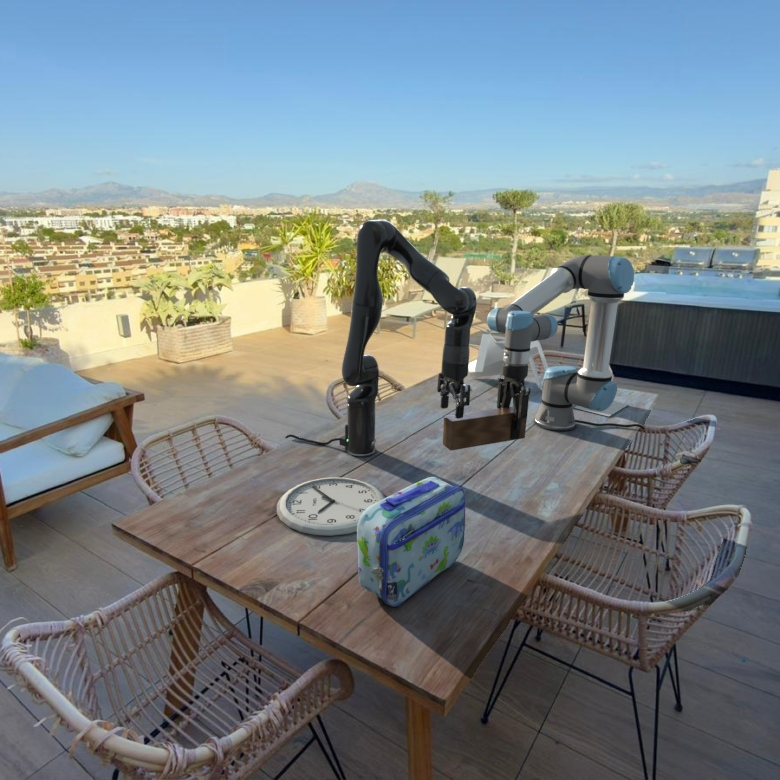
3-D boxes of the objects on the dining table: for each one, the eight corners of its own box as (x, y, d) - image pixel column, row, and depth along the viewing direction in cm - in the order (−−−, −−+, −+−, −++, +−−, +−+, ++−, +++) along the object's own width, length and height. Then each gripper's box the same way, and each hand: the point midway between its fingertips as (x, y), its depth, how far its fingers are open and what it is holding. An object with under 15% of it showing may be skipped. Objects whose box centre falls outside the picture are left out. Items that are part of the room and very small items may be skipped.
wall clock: (392, 527, 129) (268, 531, 127) (391, 533, 130) (269, 537, 127) (383, 473, 158) (282, 475, 155) (383, 478, 158) (282, 480, 156)
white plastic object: (488, 419, 265) (468, 396, 240) (469, 347, 287) (449, 319, 262) (559, 395, 253) (546, 369, 228) (534, 321, 275) (519, 290, 250)
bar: (515, 432, 168) (518, 405, 165) (524, 438, 163) (527, 410, 161) (442, 444, 158) (444, 416, 155) (450, 450, 153) (452, 421, 151)
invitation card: (608, 416, 214) (573, 407, 224) (608, 416, 214) (573, 408, 224) (628, 404, 229) (594, 396, 238) (628, 405, 229) (594, 397, 238)
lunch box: (386, 620, 101) (388, 525, 95) (350, 593, 108) (349, 503, 102) (468, 563, 119) (474, 480, 112) (432, 543, 126) (436, 464, 120)
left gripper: (431, 354, 152) (428, 406, 157) (457, 366, 140) (452, 423, 145) (454, 352, 155) (450, 403, 160) (480, 364, 143) (475, 419, 148)
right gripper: (488, 357, 163) (483, 426, 170) (523, 371, 148) (516, 447, 155) (508, 355, 166) (502, 423, 173) (545, 369, 150) (537, 444, 157)
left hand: (451, 412), depth 153 cm, fingers open, 8 cm apart
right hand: (509, 435), depth 164 cm, fingers closed on bar, 5 cm apart
